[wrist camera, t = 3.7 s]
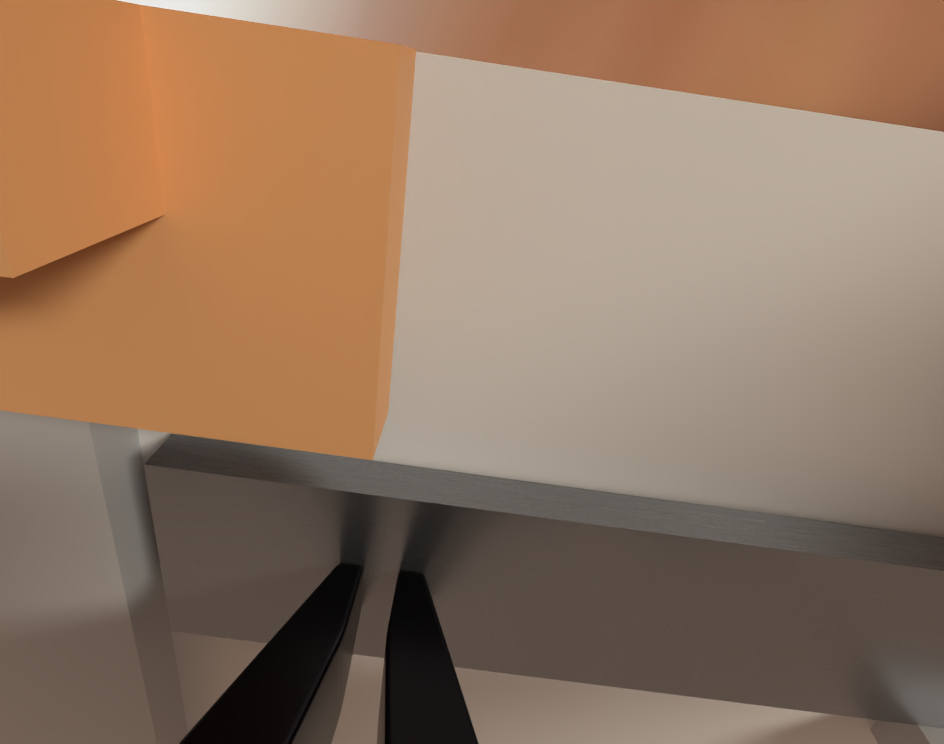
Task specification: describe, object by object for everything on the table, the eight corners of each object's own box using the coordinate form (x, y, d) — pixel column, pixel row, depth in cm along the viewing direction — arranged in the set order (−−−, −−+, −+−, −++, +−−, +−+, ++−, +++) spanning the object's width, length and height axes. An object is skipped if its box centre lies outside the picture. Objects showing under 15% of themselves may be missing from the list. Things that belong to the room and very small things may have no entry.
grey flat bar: (1090, 557, 9) (1139, 597, 9) (971, 693, 11) (1004, 736, 10) (171, 434, 9) (143, 465, 8) (193, 594, 11) (171, 631, 10)
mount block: (1231, 178, 9) (2040, 292, 4) (839, 719, 16) (987, 999, 11) (-57, -17, 9) (-750, -131, 4) (102, 626, 16) (-78, 877, 11)
